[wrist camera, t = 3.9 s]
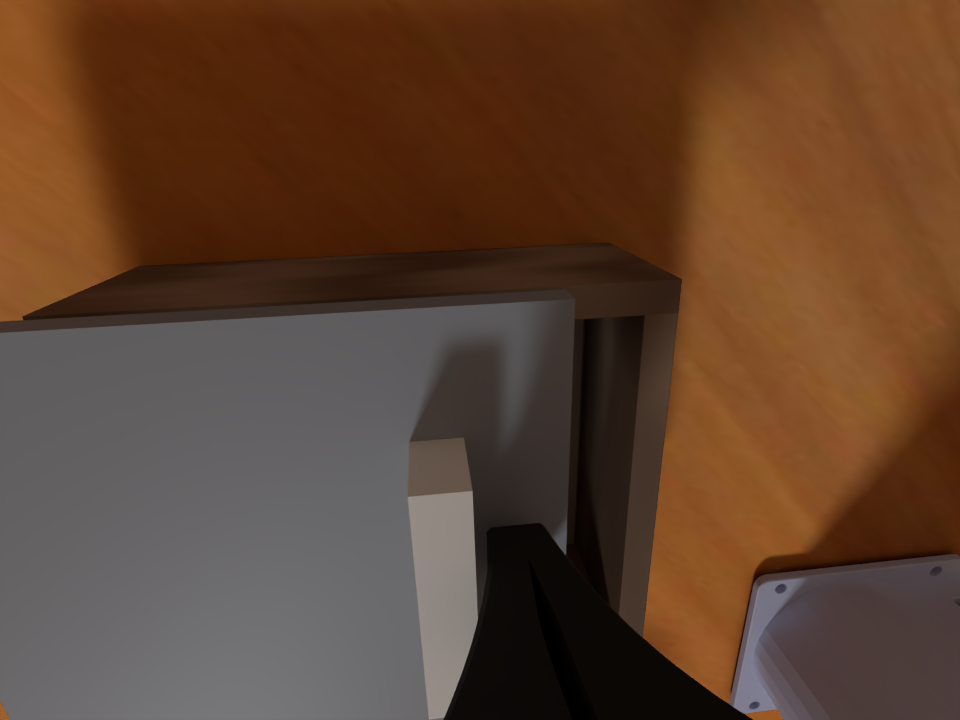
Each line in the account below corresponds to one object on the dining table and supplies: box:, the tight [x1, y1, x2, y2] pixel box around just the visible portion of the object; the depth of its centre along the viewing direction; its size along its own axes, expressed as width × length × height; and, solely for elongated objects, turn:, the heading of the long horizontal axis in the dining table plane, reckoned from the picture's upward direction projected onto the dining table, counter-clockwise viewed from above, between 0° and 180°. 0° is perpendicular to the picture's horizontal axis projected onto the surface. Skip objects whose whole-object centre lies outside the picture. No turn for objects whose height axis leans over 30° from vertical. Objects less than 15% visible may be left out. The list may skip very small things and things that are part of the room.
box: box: [23, 243, 682, 637], centre depth 16 cm, size 14×12×5 cm
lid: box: [0, 289, 575, 720], centre depth 12 cm, size 14×12×3 cm
